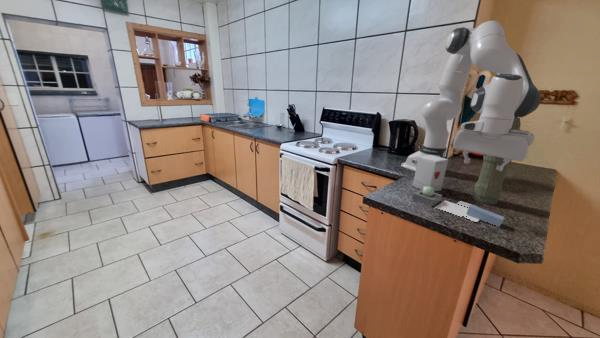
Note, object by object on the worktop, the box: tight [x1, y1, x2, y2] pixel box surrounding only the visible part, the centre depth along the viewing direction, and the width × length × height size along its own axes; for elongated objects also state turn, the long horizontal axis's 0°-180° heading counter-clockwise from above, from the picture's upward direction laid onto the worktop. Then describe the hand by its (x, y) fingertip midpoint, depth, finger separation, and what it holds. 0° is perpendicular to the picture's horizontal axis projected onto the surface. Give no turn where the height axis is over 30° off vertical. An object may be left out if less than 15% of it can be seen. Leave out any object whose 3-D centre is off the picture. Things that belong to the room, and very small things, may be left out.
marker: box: [466, 204, 505, 228], centre depth 86 cm, size 3×3×10 cm
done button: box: [422, 186, 435, 198], centre depth 99 cm, size 4×4×4 cm
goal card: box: [456, 200, 476, 208], centre depth 97 cm, size 6×4×1 cm, turn 39°
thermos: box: [471, 117, 521, 206], centre depth 96 cm, size 9×12×35 cm
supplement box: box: [412, 155, 449, 193], centre depth 111 cm, size 9×9×15 cm
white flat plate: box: [434, 200, 481, 223], centre depth 92 cm, size 14×10×1 cm
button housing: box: [411, 189, 443, 207], centre depth 100 cm, size 8×8×3 cm
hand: (482, 166), depth 84 cm, fingers open, 8 cm apart
